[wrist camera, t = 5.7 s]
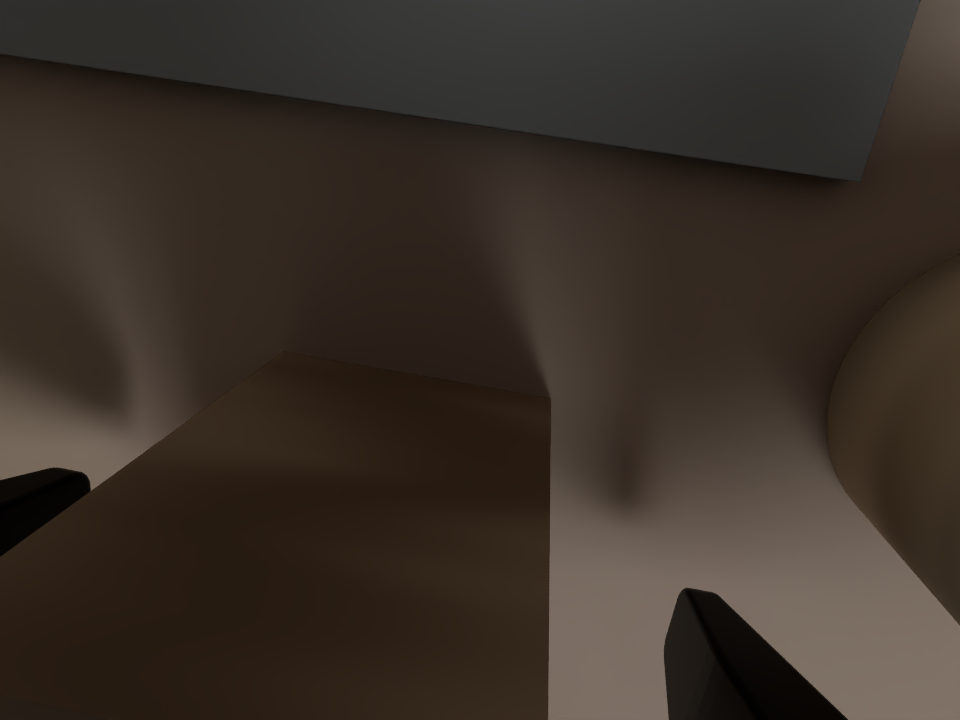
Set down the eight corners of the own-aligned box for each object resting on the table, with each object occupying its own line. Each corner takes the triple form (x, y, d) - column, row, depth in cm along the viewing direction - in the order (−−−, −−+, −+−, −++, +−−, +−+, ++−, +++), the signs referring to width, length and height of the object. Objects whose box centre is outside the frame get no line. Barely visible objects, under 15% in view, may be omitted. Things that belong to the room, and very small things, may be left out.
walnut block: (551, 398, 9) (547, 812, 3) (507, 619, 10) (451, 1189, 5) (283, 351, 9) (-148, 663, 4) (274, 573, 11) (-53, 1061, 5)
